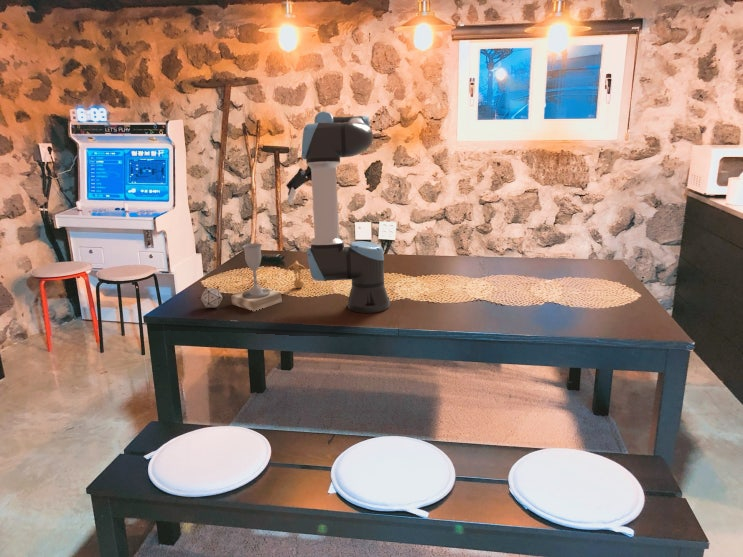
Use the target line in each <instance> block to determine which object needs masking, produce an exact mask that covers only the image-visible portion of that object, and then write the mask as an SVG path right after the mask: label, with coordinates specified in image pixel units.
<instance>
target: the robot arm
mask: <svg viewBox="0 0 743 557" xmlns="http://www.w3.org/2000/svg"><path fill="white" fill-rule="evenodd" d="M313 120H314V123H308V124H306V125H304V127H303V132H302V142H301V158H302V159H303V160H305V161H306V162H305V163H306V165H307V166H306V169H302V168H301V167H300V168H299V169H298V171H297V173H296V174H294V176H293V177H292V178H291V179H290V180H289V181H288V182H287V183H286V186H285V187H287V189H288V192H287V196H288V197H287V200H286V201H287V203H288V204H289V206H291V205H292V204H293V201H294V197H295V195H296V192H297V191H296V190H297V189H298V188H299V187H301V186H302V185H304V184H305V183H308V182H309V181H310V182H311V190H312V191H311V192H312V209H313V210H312V212H313V213H312V214H313V227H314V228H313V230H314V234H313V235H314V238H313V240H312V241H311V242H310V247H309V248H307V249H306V254H307V255H306V256H307V263H308V267H309V272H310V276H311V278H312V280H314V281H315V282H329V281H331V282H332V281H349V280H350V281H351V288H350V291H349V295H348V299H347V308H348V309H349V310H350V311H352V312H355V313H363V314H372V313H374V314H375V313H379V312H383V311H386V310H387V309H389V308H390V306H391V305H390V304H391V303H390V297H389V295H388V293H387V289H386V286H385V267H384V266H385V265H384V263H385V262H384V260H385V257H384V249H383V247H382V246H381V245H380V244H379V243H375V242H372V241H363V240H357V241H352V242H350V244H349V246H345V242H344V240H343V239H341V237H340V231H339V230H340V227H339V222H340V221H339V202H338V184H337V182H338V181H337V168H338V166H339V165H340V164H341V158H351V157H355V156H357V155H361V154H362V153H364V152H365V151H367V150H368V149H369V148H370V147H371V146H372V144H373V142H374V132H373V130H372V129H371V127H370V126H371V125H370V118H369V116H366V115H359V116H358V115H357V116H333V115H332V114H331V112H327V111H325V110H324V111H319V112H317V114H316V115H315V117H314V119H313Z"/></svg>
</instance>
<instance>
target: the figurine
mask: <svg viewBox="0 0 743 557" xmlns="http://www.w3.org/2000/svg"><path fill="white" fill-rule="evenodd" d="M291 267H293V268H294V269H293V273H294V274H295V275H294V278H295V279H294V281H293V286H294V287H295V288H296V289H302V288H303V287H304V284H305V281H304V280H303V279H302V278H301V276H302V275H301V274H302V272H301V268H304V269H305V270H306V271H307V272H309V271H308V269H307V268H306V267H305V266H304V265H302V264H301V263H299V261H298V260H295V261H294V263H292V264H290V265H289V266H288V267H287V270H286V273H288V272H289V270H290V268H291ZM300 267H301V268H300ZM297 273H298V274H299V275H298V277H297Z"/></svg>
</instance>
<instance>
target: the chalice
mask: <svg viewBox="0 0 743 557" xmlns="http://www.w3.org/2000/svg"><path fill="white" fill-rule="evenodd" d="M242 248H243V251H244V252H243V253H244V260H245V262H246V265H247V267H248V268H249V270H251V271H252V272H253V274H252V276H253V279H252V281H253V283H254V284H253V286H251V288H250V289H251V290H250V289H249V290H250V294H251V295H259V294H262V293H263V291H262V289H261V286H260V285H258V283H257V282H258V279H257V276H258V274H257V270H259V267H260V265H261V262H262V250H261V249H262V243H258V242H255V243H254V242H253V243H252V242H251V243H247V244H244V245H242Z"/></svg>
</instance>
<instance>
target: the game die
mask: <svg viewBox="0 0 743 557" xmlns="http://www.w3.org/2000/svg"><path fill="white" fill-rule="evenodd" d="M219 288H220V286H217V287H208V288H207V287H206V286H204V290H203V292H202V294H201V296H198V297H197V299H199V300H200V301H201V302H202V304H203V305H204V309H205V310H206V309H211V308H215V309H216V310H219V309H220V307H219V306H220V304H221V302H222V301H223V299H226V297H224V296H223V295H222V294H221V292H220V290H219Z"/></svg>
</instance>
